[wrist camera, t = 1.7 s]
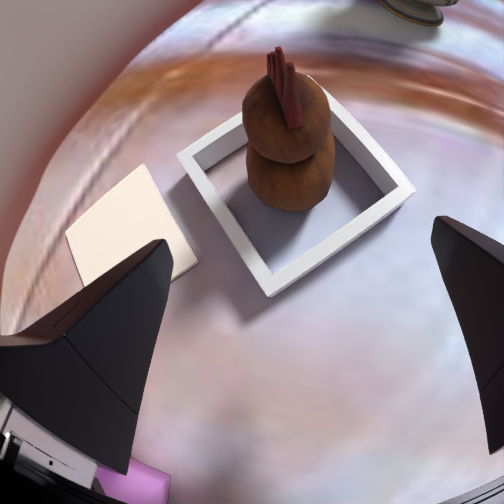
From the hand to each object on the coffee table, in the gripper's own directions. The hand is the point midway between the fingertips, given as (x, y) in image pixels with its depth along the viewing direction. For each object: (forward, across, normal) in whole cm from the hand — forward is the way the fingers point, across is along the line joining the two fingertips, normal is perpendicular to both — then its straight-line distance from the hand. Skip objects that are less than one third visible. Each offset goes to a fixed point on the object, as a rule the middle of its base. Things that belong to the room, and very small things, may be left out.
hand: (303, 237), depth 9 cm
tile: (+12, +16, +7) cm, 21 cm away
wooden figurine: (+15, 0, +4) cm, 15 cm away
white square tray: (+14, 0, +4) cm, 15 cm away
